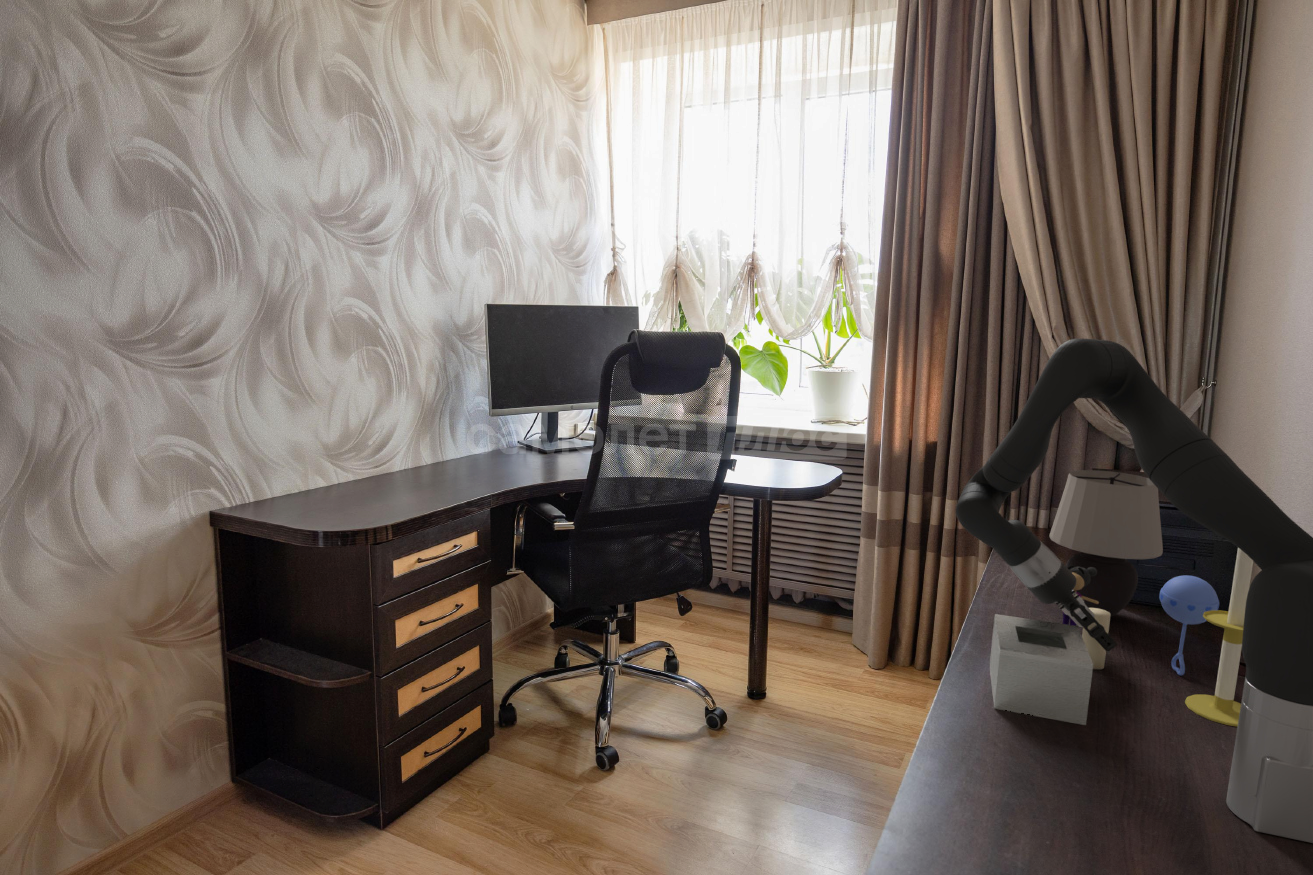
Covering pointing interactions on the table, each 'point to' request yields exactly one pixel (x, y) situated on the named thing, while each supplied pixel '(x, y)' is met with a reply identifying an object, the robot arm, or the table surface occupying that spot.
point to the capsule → (1091, 644)
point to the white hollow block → (1040, 669)
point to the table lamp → (1109, 531)
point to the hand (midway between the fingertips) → (1103, 638)
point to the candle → (1227, 650)
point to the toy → (1080, 586)
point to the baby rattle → (1187, 606)
